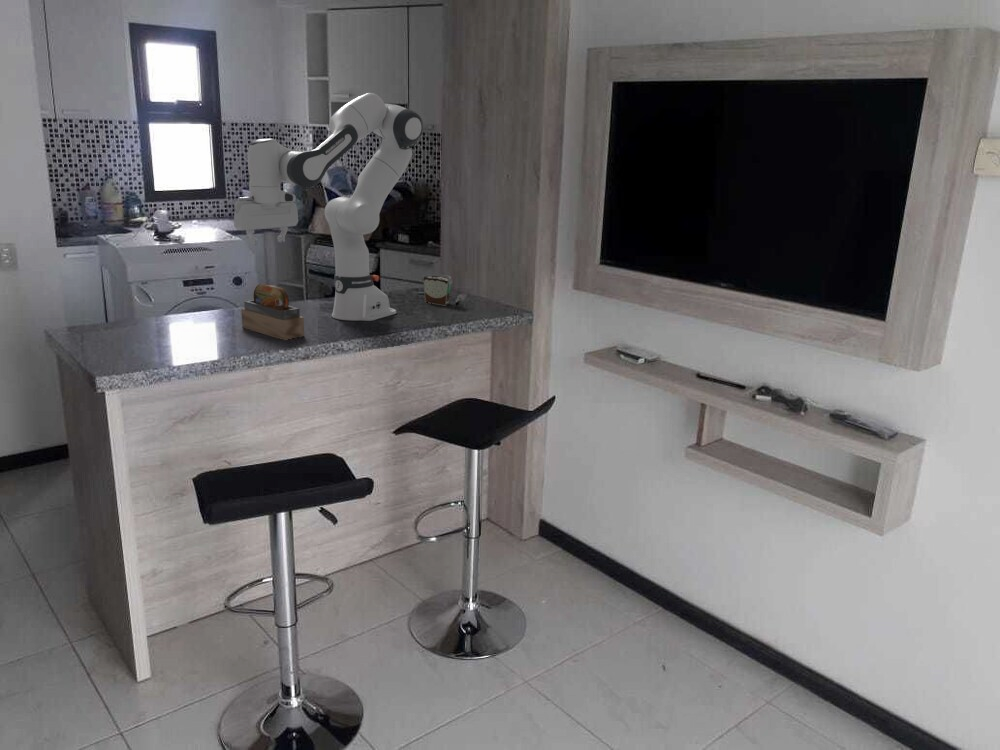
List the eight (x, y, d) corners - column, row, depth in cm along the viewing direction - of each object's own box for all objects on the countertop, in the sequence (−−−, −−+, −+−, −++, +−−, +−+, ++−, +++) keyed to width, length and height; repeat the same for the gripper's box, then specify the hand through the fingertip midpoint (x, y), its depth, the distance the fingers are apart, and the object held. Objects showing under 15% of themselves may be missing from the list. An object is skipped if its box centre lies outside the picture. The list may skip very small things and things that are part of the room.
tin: (253, 309, 250) (251, 282, 248) (262, 307, 252) (260, 281, 250) (282, 317, 241) (281, 289, 239) (291, 316, 243) (290, 288, 241)
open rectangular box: (261, 323, 258) (260, 297, 255) (304, 336, 244) (303, 309, 242) (242, 327, 252) (240, 300, 250) (284, 340, 239) (283, 312, 237)
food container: (458, 303, 297) (459, 277, 294) (449, 306, 292) (449, 279, 289) (431, 299, 303) (432, 273, 300) (421, 301, 298) (422, 275, 295)
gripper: (240, 198, 227) (243, 247, 231) (300, 195, 242) (302, 241, 246) (227, 196, 231) (231, 245, 235) (287, 193, 246) (289, 239, 250)
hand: (267, 243), depth 241 cm, fingers open, 8 cm apart
